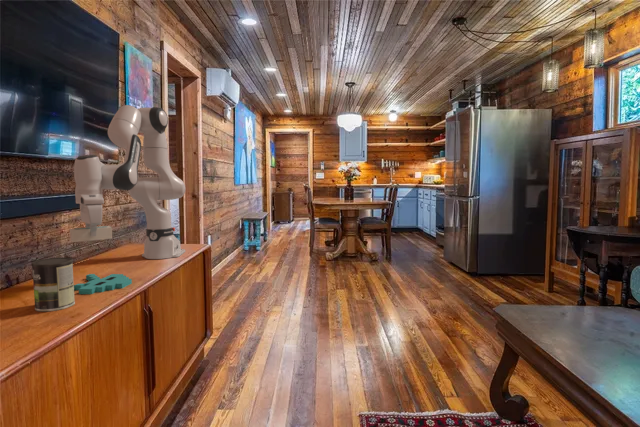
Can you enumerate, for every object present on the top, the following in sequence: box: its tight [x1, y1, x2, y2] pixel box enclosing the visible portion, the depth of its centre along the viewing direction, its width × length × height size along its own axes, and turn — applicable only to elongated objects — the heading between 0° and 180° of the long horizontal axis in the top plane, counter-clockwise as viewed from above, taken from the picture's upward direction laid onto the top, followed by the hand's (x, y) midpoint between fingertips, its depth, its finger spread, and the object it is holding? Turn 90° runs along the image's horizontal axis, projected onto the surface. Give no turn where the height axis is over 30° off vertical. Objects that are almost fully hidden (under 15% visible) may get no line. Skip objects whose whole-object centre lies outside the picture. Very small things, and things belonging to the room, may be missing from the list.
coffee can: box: [30, 256, 76, 312], centre depth 117 cm, size 10×10×14 cm
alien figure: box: [74, 273, 133, 295], centre depth 139 cm, size 20×2×20 cm
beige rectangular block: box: [69, 225, 113, 243], centre depth 145 cm, size 13×5×5 cm, turn 130°
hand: (91, 235), depth 145 cm, fingers closed on beige rectangular block, 5 cm apart
